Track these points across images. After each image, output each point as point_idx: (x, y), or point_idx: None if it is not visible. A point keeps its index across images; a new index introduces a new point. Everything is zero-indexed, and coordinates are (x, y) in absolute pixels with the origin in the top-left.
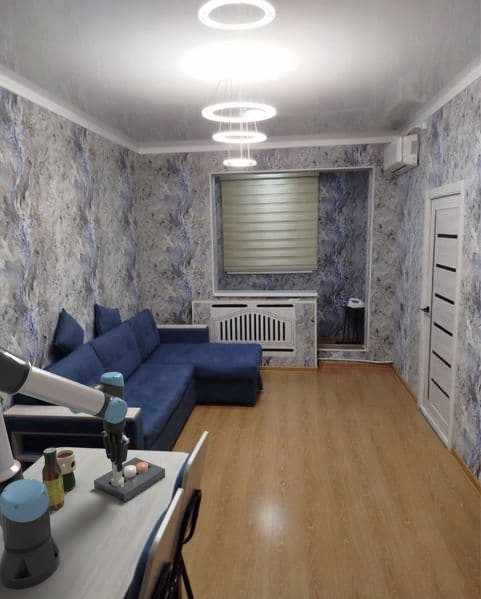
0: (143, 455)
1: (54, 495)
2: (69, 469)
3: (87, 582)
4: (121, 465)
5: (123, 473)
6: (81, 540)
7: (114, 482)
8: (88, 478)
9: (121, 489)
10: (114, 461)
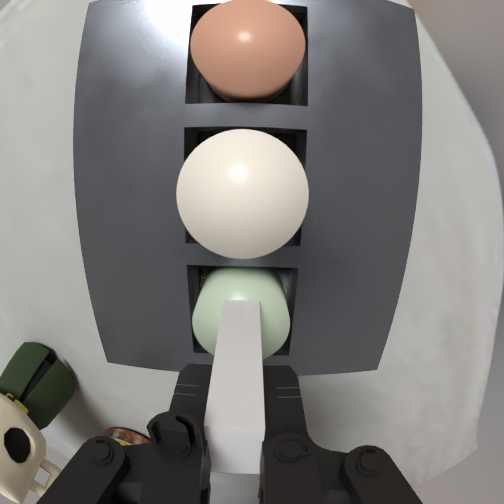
0: None
1: None
2: (40, 453)
3: (418, 479)
4: (301, 418)
5: None
6: None
7: None
8: (34, 285)
9: (330, 353)
10: (211, 463)
